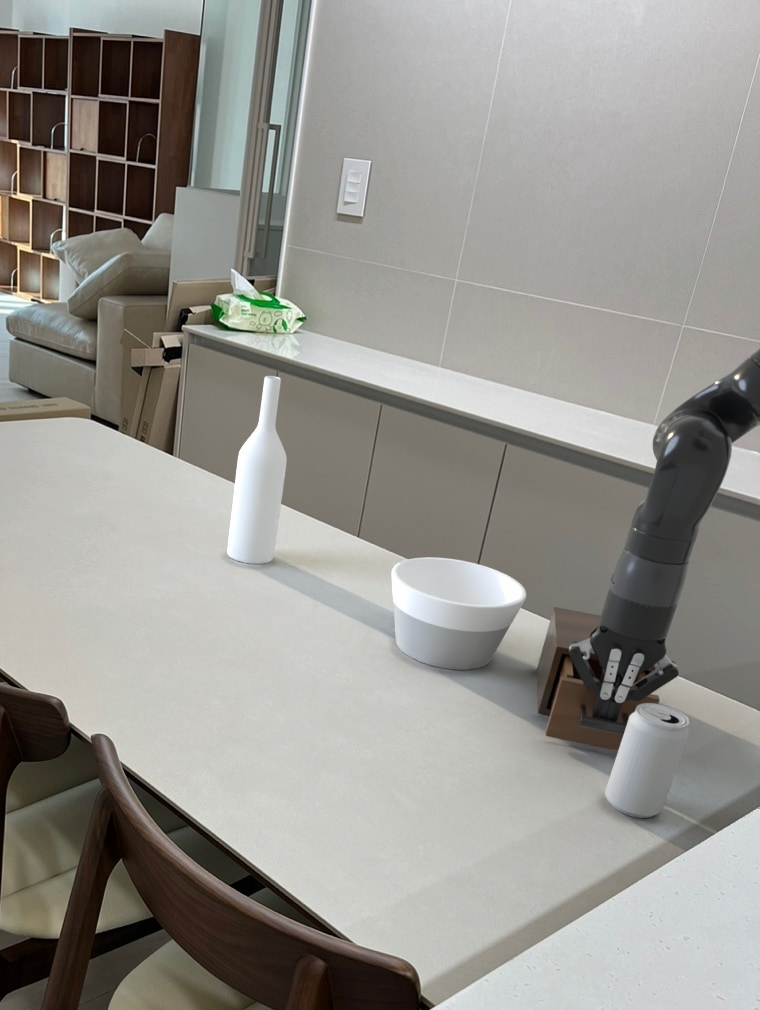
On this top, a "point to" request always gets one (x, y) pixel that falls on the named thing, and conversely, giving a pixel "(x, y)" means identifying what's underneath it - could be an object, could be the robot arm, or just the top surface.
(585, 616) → the cabinet
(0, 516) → the top surface
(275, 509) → the bottle
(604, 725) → the drawer
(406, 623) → the bowl
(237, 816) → the top surface
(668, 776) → the beverage can
